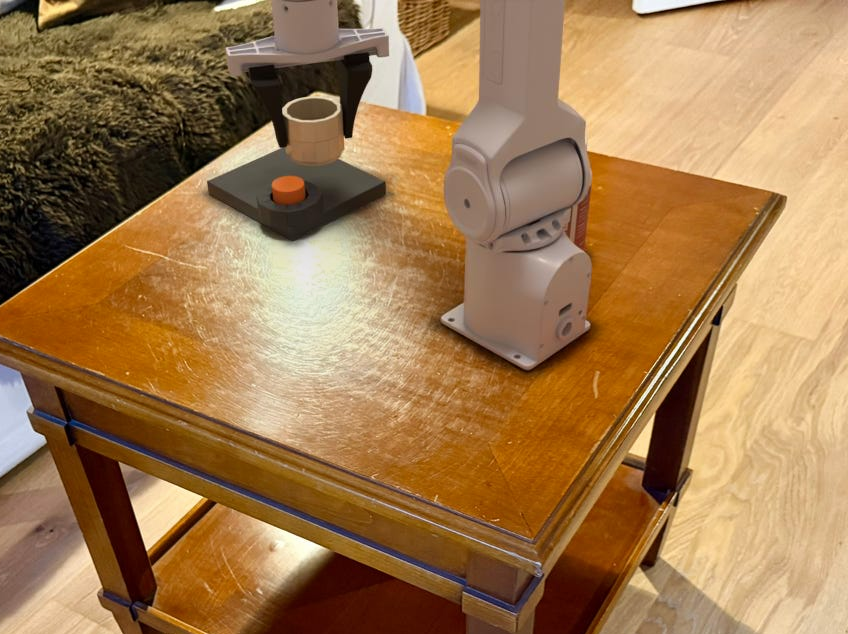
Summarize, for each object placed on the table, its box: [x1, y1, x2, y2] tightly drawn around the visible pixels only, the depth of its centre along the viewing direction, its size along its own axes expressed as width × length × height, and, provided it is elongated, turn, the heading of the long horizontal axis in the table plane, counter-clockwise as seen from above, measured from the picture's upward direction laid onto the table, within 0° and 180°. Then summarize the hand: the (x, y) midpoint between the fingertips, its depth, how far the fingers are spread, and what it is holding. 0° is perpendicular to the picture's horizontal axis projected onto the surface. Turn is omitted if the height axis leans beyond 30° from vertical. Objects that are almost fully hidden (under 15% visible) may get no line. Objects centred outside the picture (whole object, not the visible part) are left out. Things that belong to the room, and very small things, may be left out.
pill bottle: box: [563, 135, 593, 252], centre depth 86 cm, size 6×6×11 cm
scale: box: [206, 147, 387, 242], centre depth 98 cm, size 14×13×3 cm
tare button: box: [272, 176, 306, 205], centre depth 93 cm, size 3×3×2 cm
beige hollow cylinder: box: [282, 95, 345, 166], centre depth 96 cm, size 6×6×4 cm
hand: (314, 138), depth 97 cm, fingers closed on beige hollow cylinder, 6 cm apart
